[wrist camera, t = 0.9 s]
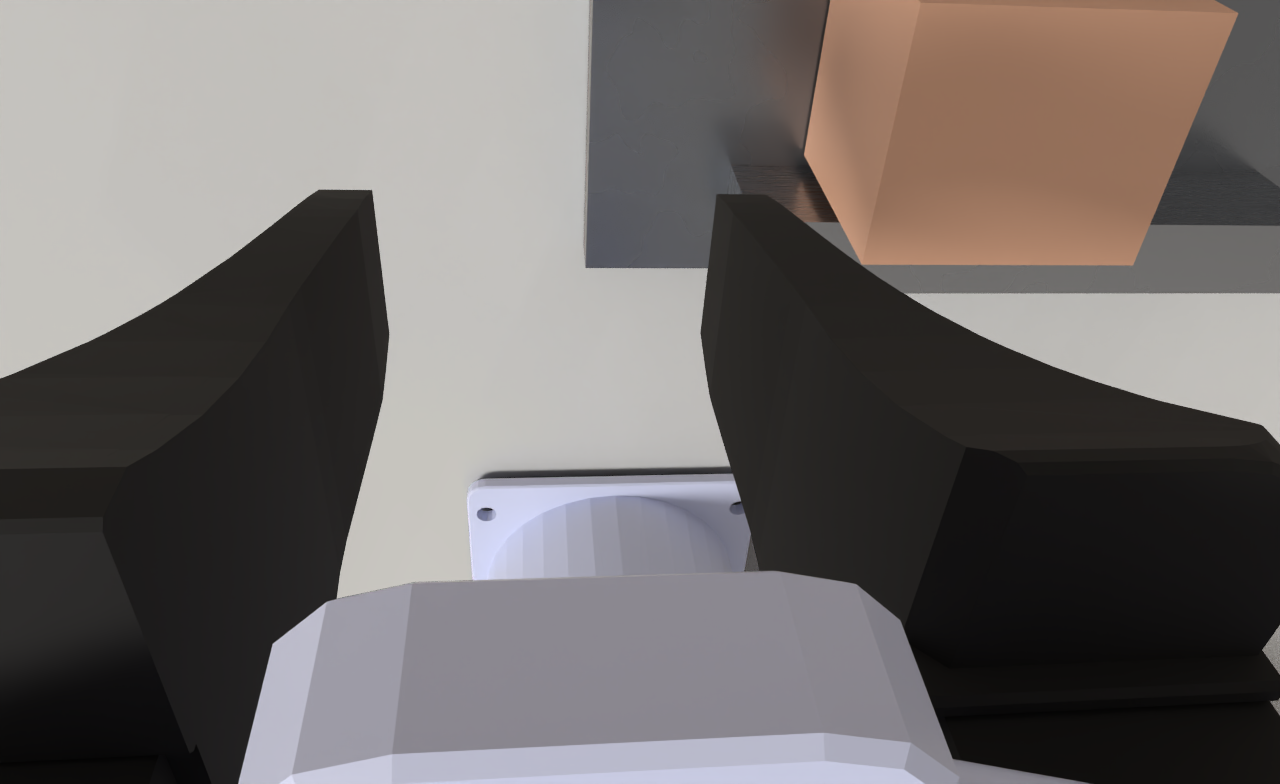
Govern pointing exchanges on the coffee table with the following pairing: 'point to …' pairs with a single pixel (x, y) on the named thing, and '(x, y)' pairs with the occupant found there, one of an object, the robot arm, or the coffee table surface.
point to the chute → (776, 166)
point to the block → (1006, 124)
